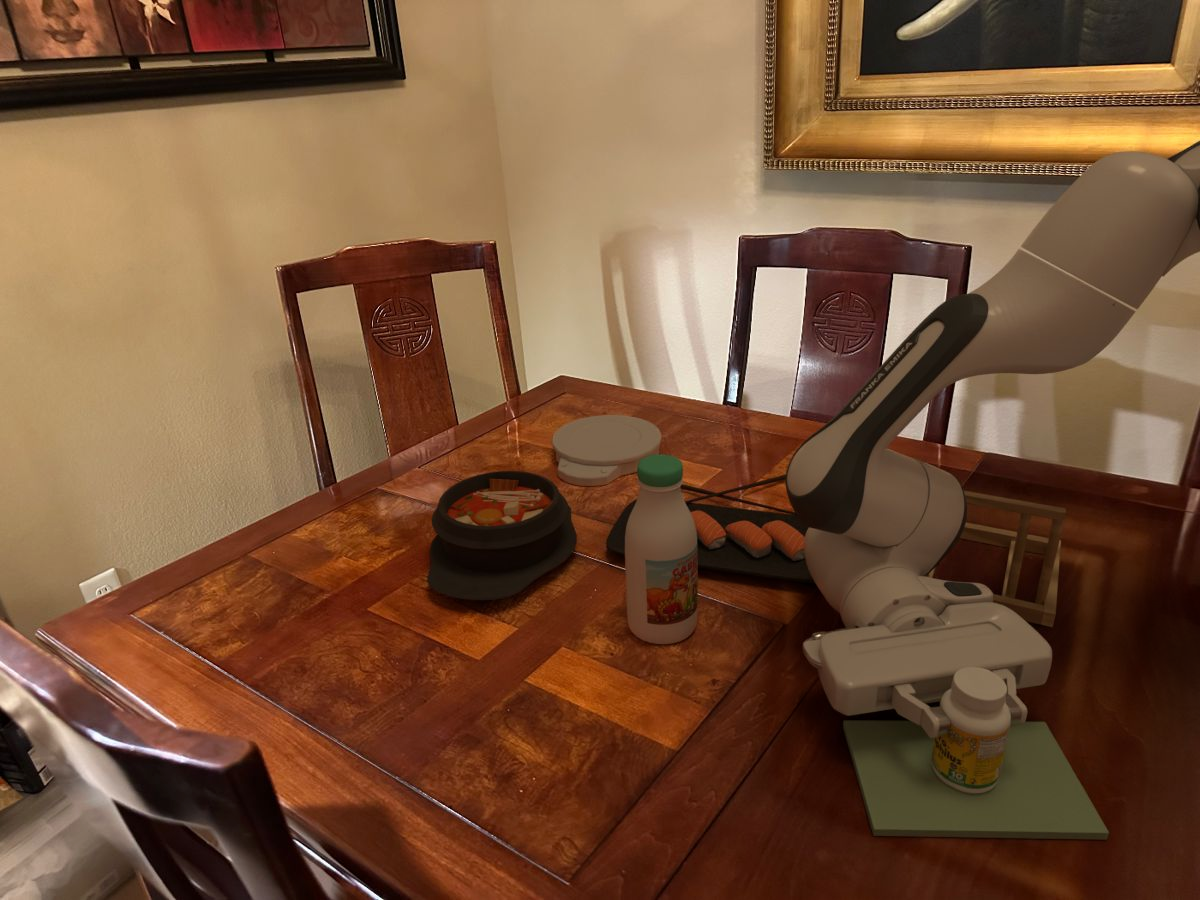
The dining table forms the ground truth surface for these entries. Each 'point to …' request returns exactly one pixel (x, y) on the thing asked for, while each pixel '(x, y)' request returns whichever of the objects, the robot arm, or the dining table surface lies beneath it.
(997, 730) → the supplement bottle
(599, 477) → the kitchen scale
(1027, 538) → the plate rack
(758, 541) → the sushi plate
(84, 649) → the dining table surface
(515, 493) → the casserole
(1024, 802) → the mat
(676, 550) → the milk bottle
